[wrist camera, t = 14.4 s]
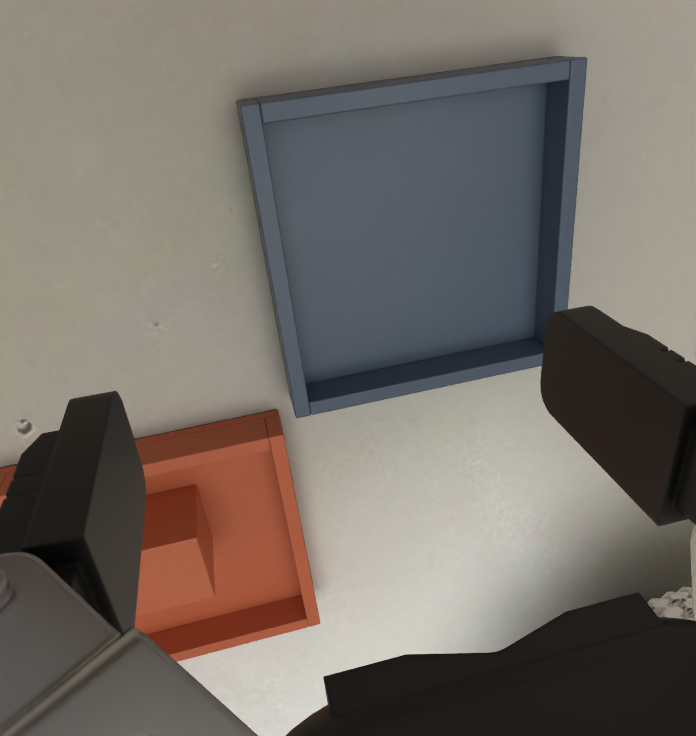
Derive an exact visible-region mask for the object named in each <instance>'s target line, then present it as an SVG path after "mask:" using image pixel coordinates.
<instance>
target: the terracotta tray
mask: <svg viewBox="0 0 696 736" xmlns="http://www.w3.org/2000/svg"><path fill="white" fill-rule="evenodd" d="M135 443H136V446H137V450H138V453H139V456H140V459H141V462H142V466H143V470H144V476H145V482H146V496H147V495H151V494H156V493H160V492H164V491H169V490H173V489H178V488H182V487H187V486H191V485H197V488H198V492H199V495H200V498H201V502H202V505H203V508H204V512H205V515H206V518H207V522H208V525H209V529H210V532H211V535H212V539H213V557H214V582H215V596H214V597H210V598H206V599H202V600H198V601H194V602H190V603H186V604H182V605H178V606H174V607H170V608H166V609H162V610H158V611H154V612H150V613H146V614H142V615H138V616H136V619H135V628H137V629H139V630H140V631H142V632H143V633H145V634H146V635H147V636H148V637H149V638H151V639H152V640H153V641H154V642H155V643H156V644H157V645H158V646H159V647H160V648H162V649H163V650H164V651H165V652H166V653H167V654H168V655H169V656H170V657H172V658H173V659H174V660H175V661H176V662H177V661H181V660H185V659H189V658H193V657H196V656H200V655H204V654H208V653H211V652H215V651H219V650H223V649H227V648H230V647H234V646H238V645H242V644H246V643H249V642H253V641H257V640H261V639H264V638H268V637H272V636H276V635H280V634H283V633H287V632H291V631H295V630H299V629H302V628H306V627H308V626H313V625H317V624H320V619H319V614H318V608H317V603H316V598H315V593H314V588H313V583H312V578H311V573H310V568H309V562H308V557H307V552H306V547H305V542H304V537H303V532H302V527H301V522H300V516H299V511H298V506H297V501H296V496H295V491H294V486H293V481H292V476H291V470H290V465H289V460H288V455H287V450H286V445H285V440H284V435H283V430H282V426H281V422H280V417H279V413H278V410H273V411H268V412H264V413H259V414H254V415H249V416H245V417H240V418H235V419H230V420H226V421H221V422H216V423H212V424H207V425H202V426H197V427H193V428H188V429H183V430H178V431H174V432H169V433H164V434H159V435H155V436H150V437H145V438H141V439H136V440H135ZM16 467H17V465H13V466H8V467H3V468H0V508H1V505H2V503H3V500H4V499H6V492H7V490H8V487H9V485H10V482H11V481H12V480H14V479H13V475H14V472H15V470H16Z"/></svg>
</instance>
